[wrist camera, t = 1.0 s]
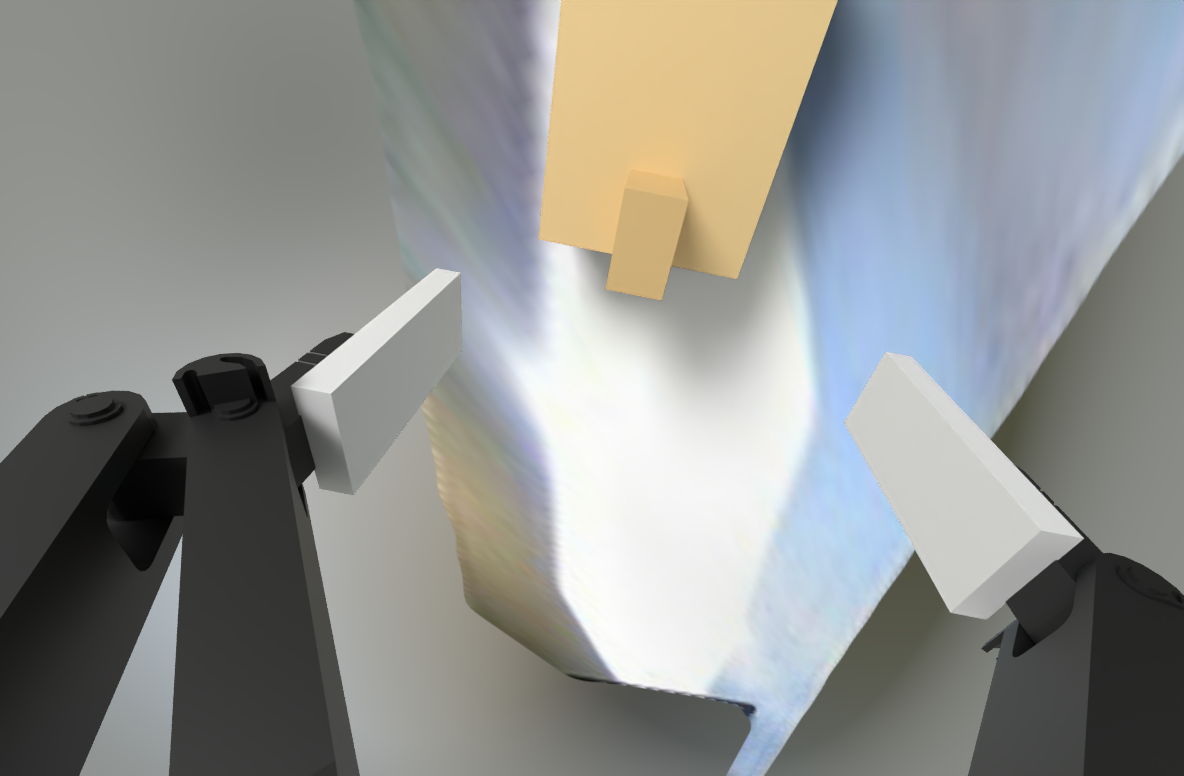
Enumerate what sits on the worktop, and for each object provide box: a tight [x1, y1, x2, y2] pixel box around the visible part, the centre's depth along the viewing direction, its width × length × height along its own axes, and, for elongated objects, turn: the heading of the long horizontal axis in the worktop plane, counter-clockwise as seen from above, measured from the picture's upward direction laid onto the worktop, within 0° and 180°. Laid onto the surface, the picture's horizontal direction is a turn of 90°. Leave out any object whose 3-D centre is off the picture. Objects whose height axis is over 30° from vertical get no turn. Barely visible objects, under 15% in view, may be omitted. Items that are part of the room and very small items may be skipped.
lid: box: [539, 0, 838, 301], centre depth 21 cm, size 19×13×8 cm
